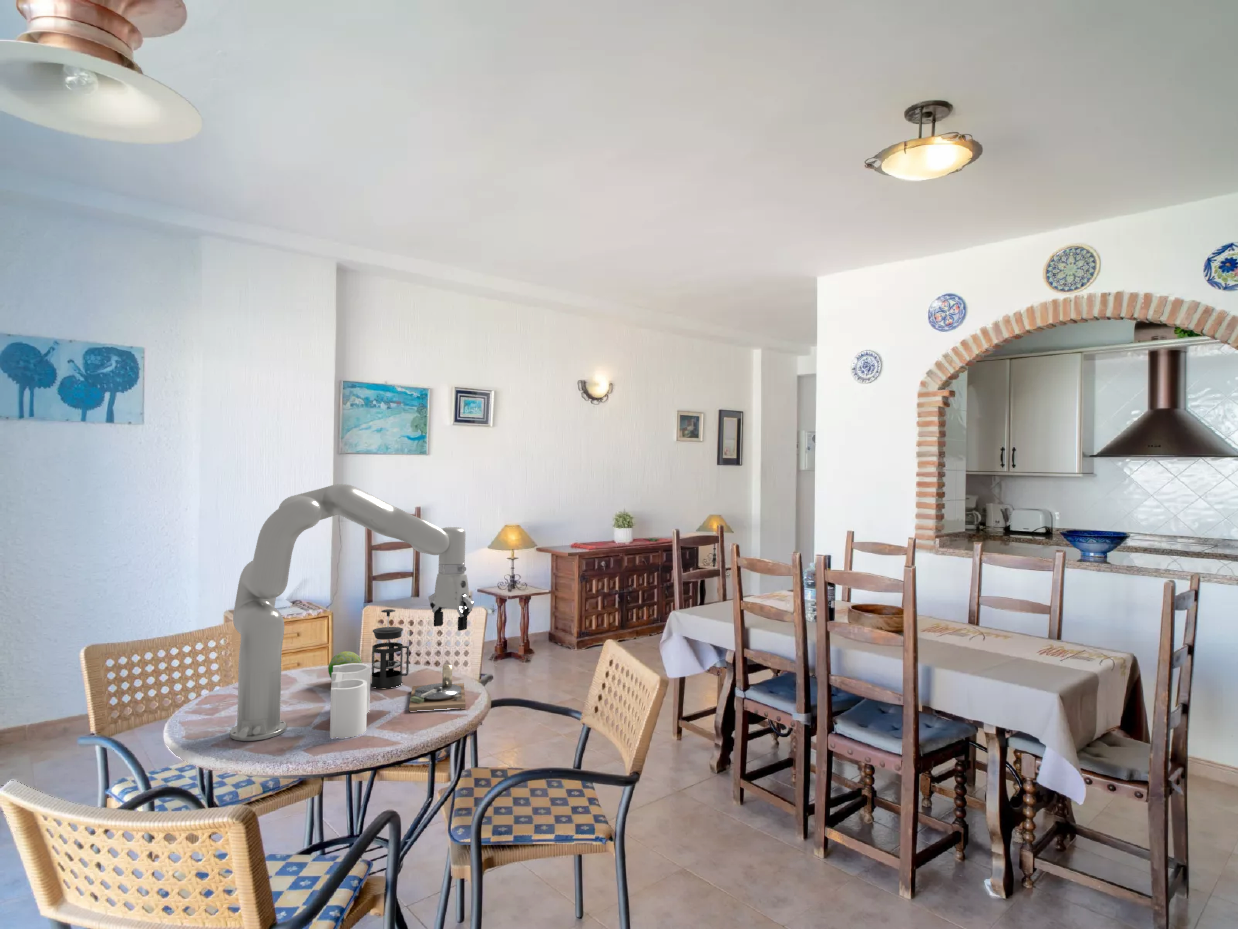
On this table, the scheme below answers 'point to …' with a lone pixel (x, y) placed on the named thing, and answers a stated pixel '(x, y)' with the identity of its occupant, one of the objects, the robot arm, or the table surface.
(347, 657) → the decorative ball
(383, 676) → the french press
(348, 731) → the white utensil holder
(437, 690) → the dial
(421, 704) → the dial board
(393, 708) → the table surface
